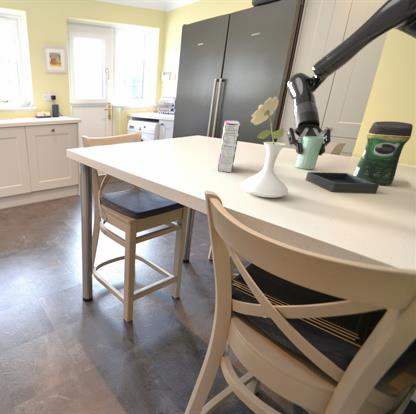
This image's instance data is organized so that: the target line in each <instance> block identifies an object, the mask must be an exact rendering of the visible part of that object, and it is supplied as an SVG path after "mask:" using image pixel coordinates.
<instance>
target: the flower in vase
mask: <svg viewBox="0 0 416 414" xmlns="http://www.w3.org/2000/svg"><path fill="white" fill-rule="evenodd" d="M279 102H280V100H279V98H278V97H277V95H276V96H274V97H273V98H272V97H271V96H270V97H268V99H266V100H265V101H264V102H263V104H259V105H258V107H257V108H258V109H257V110H255V111H254V113H252V114H251V118H252V119H250V123H251V124H253V126H258V125H259V124H262V123H263V122H266V121H267V120H268V119H269V125H270V129H265V130H263V131H261V132H260V133H259V134H257V136H256V138H257V139H260V140H264V139H266V138H268V136H270V135H271V139H272V141H264V142H263V144H264V147H265V153H266V154H265V162H264V166H263V167H262V170H261V171H259V172H258V173H256V174H254V175H252V176H249V177H248V178H247V179H245V180H244V181H242V183H241V184H240V187H241V189H242V190H243V191H244V192H246V193H248V194H250V195H253V196H257V197H261V198H262V197H263V198H275V199H276V198H281V197H286V195H288V193H289V189H288V187H287V185H286V184H285V183H284V182H283V181H282V180H281V179H280V178H279V177H278V176H277V174H276V173H275V164H276V160H277V158H278V155H279V153H280V152H281V151H282V149H284V147H285V146H287V144H286V143H285V142H284V143H283V142H278V141H275V140H276V139H280V138H282V137H284V135H285V129H284V127H282V128H279V129H278V130H274V131H273V123H272V117H271V116H272V115H273V114H274V113H275V111H276V110H277V108H278V106H279V105H280V103H279Z"/></svg>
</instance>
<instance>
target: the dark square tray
mask: <svg viewBox="0 0 416 414" xmlns="http://www.w3.org/2000/svg"><path fill="white" fill-rule="evenodd" d="M305 181H307V182H309V183H311V184H314V185H316V186H318V187H319V188H323V189H325V190H327V191H328V192H330V193H351V194H352V193H354V194H377V191H378V189H379V188H380V187H379V186H380V184H376V183H373V182H370V181H368V180H365V179H362V178H359V177H356V176H353V174H351V173H348V172H324V171H323V172H322V171H320V172H319V171H307V173H306V176H305Z"/></svg>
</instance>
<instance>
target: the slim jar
mask: <svg viewBox="0 0 416 414" xmlns="http://www.w3.org/2000/svg"><path fill="white" fill-rule="evenodd" d="M323 139H324V138H323V137H318V136H303V139H302V141H301V143H302V147H303V152H302V153H301V154H298V153H297V157H296V161H295V167H296V168H300V169H306V170H313V169H315V167H316V165H317V162H318V159H319V156H320V155H319V152H320V149H321V145H322V142H323Z"/></svg>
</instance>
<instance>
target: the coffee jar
mask: <svg viewBox="0 0 416 414" xmlns="http://www.w3.org/2000/svg"><path fill="white" fill-rule="evenodd" d="M413 127H414V126H413V124H412V123H409V122H402V121H391V120H389V121H387V120H386V121H375V122H373V123H372V125H371V126H370V128H369V130H368V132H367V134H366V140H367V141H366V144H365V148H364V150H363V152H362V155H361V156H360V159H359V160H358V163H357V165H356V167H355V169H354V172H353V174H352V175H353V176H356V177H359V178H362V179H365V180H368V181H370V182H373V183H376V184H379V186H380V185H381V186H383V185H384V186H387V185H388V186H389V185H391V184H393V182H394V179H395V176H396V172H397V169H398V166H399V165H398V164H399V160H400V157H401V154H402V151H403V149H404V146H405V145H406V144H407V143H408V142H409V141H410V139H411V137H412V133H413Z"/></svg>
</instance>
